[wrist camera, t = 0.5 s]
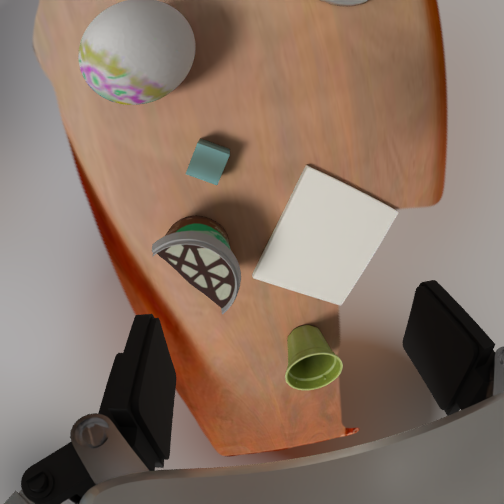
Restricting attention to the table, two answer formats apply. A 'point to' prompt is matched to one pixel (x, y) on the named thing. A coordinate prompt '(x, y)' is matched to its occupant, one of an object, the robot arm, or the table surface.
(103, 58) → the decorative egg
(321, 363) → the plant pot
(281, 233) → the cream board
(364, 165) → the table surface
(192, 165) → the teal block
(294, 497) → the robot arm
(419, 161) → the table surface
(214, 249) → the food container
